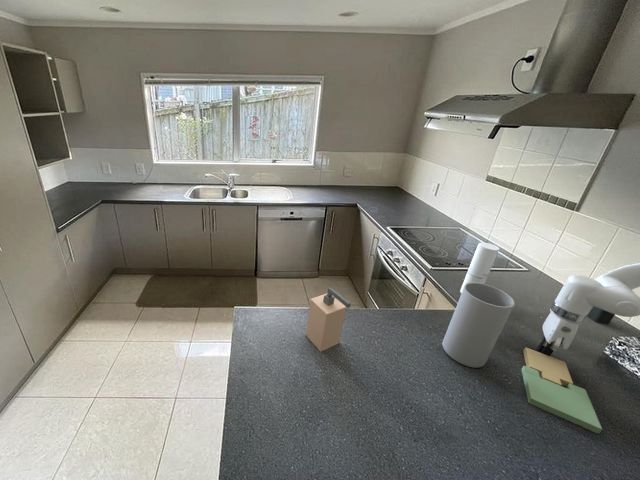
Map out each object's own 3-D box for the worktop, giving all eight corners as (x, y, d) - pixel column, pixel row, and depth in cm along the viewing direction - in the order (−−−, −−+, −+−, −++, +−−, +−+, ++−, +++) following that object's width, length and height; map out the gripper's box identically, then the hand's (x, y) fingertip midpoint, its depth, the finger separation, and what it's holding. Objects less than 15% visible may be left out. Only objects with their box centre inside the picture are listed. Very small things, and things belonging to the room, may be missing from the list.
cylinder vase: (482, 375, 89) (513, 313, 79) (438, 353, 96) (461, 294, 87) (486, 353, 97) (515, 294, 88) (445, 334, 105) (467, 278, 95)
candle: (596, 322, 114) (630, 270, 104) (584, 314, 119) (616, 263, 109) (610, 324, 113) (646, 272, 104) (598, 316, 118) (631, 265, 108)
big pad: (582, 393, 84) (585, 389, 83) (598, 434, 74) (602, 429, 73) (521, 369, 91) (523, 365, 91) (528, 403, 81) (531, 398, 80)
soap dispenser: (305, 334, 102) (312, 284, 93) (323, 327, 106) (331, 278, 97) (328, 361, 92) (339, 307, 83) (348, 352, 95) (359, 299, 87)
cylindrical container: (482, 299, 126) (503, 250, 116) (466, 298, 126) (486, 249, 116) (471, 289, 132) (490, 242, 123) (456, 289, 132) (474, 241, 123)
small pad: (562, 366, 93) (565, 362, 92) (572, 395, 84) (575, 390, 83) (523, 351, 99) (525, 347, 98) (528, 376, 89) (531, 372, 88)
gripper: (592, 330, 82) (562, 375, 89) (577, 304, 93) (552, 345, 100) (557, 319, 86) (531, 362, 93) (547, 296, 97) (525, 336, 104)
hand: (542, 353), depth 97 cm, fingers closed
